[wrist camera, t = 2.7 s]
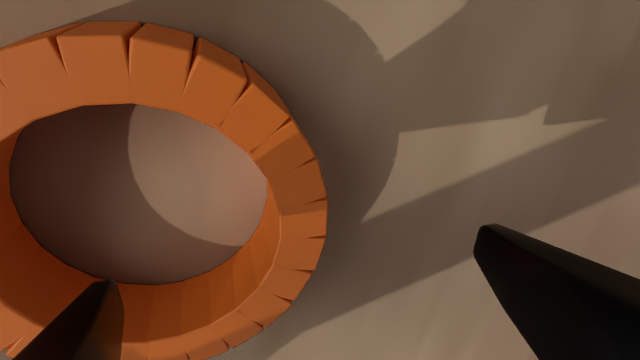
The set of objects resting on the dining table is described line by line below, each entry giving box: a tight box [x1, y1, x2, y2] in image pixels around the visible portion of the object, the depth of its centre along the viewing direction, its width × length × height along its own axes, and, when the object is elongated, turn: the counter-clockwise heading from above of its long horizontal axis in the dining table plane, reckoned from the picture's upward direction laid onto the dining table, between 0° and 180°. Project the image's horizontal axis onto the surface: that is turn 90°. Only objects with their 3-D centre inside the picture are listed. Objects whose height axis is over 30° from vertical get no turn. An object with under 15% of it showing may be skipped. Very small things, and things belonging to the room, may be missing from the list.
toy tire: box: [0, 21, 328, 360], centre depth 11 cm, size 10×10×2 cm
